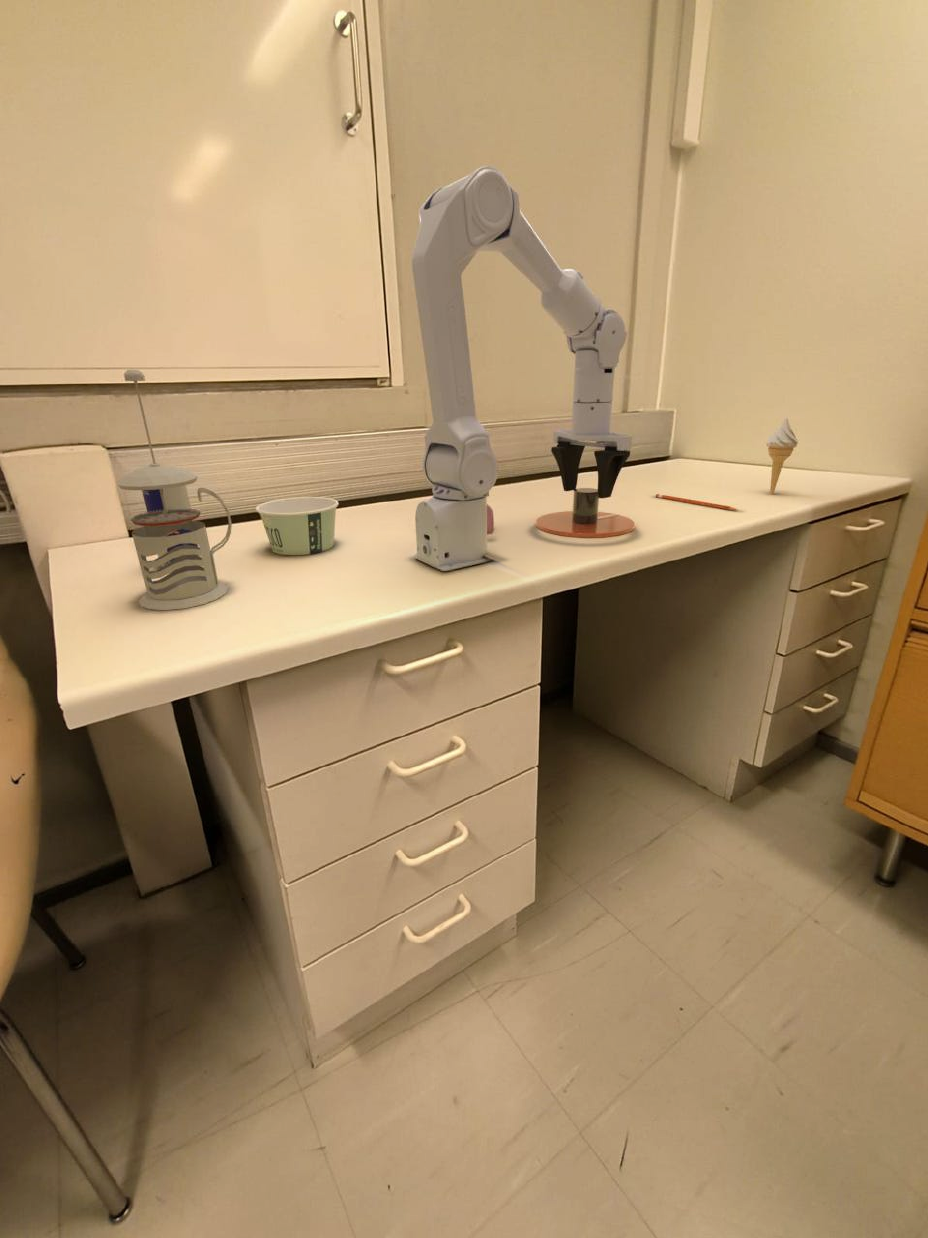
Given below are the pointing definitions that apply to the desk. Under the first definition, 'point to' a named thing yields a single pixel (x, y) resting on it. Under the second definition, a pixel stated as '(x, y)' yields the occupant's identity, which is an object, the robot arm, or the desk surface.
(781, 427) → the ice cream cone
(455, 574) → the desk surface
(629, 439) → the robot arm
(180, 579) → the french press
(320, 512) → the food container
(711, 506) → the pencil
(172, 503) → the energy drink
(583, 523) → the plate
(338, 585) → the desk surface
